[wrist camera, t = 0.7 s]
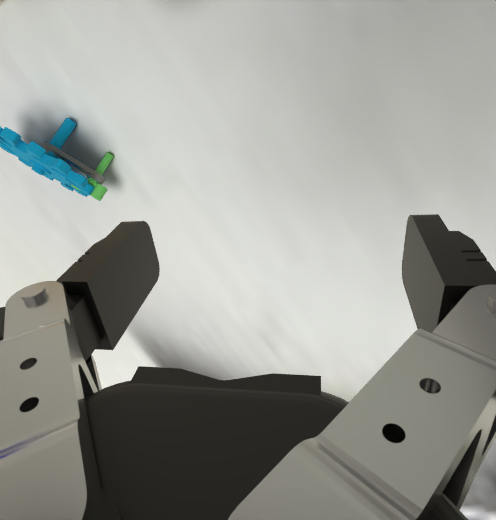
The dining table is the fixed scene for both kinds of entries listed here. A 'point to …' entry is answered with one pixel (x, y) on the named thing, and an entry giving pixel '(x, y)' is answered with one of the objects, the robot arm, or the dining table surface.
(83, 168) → the gear
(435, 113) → the dining table surface
